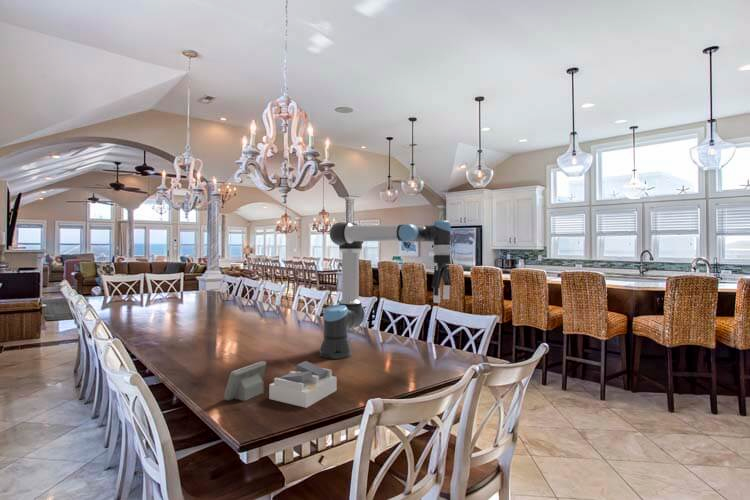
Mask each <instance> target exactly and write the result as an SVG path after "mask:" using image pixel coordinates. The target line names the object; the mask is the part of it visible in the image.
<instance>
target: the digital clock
mask: <svg viewBox="0 0 750 500" xmlns="http://www.w3.org/2000/svg"><path fill="white" fill-rule="evenodd" d="M266 367H267V362H266V361H263V360H262V361H258V362H255V363H253V364H250V365H246V366H244V367H240V368H238V369H235V370H232V371H231V372H230V374H229V377H228V381H227V385H226V388H225V392H224V395H223V396H224V397H223V399H224V400H225V401H232V400H238V399H239V401H243V402H245V401H249V400H250V399H252V398H255V397H257V396H259V395H261V394H264V379H263V378H264V374H265V371H266Z"/></svg>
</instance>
